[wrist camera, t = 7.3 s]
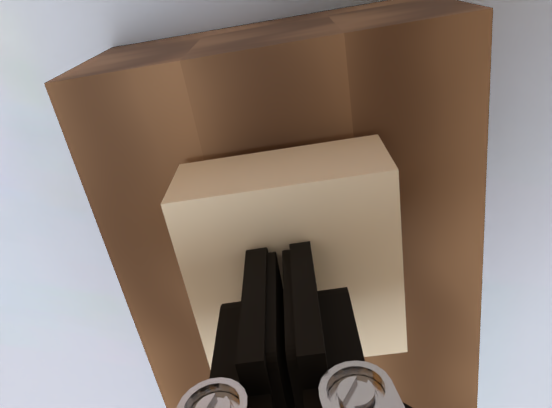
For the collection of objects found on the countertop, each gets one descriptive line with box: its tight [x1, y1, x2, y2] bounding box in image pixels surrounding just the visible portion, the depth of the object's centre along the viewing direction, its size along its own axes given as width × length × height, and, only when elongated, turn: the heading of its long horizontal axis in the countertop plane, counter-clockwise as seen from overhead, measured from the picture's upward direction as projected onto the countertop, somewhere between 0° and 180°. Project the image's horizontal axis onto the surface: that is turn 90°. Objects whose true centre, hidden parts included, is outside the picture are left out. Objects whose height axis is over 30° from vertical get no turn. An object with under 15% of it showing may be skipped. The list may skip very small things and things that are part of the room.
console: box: [44, 0, 493, 408], centre depth 20 cm, size 12×22×6 cm, turn 9°
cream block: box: [161, 134, 408, 370], centre depth 16 cm, size 6×6×7 cm
